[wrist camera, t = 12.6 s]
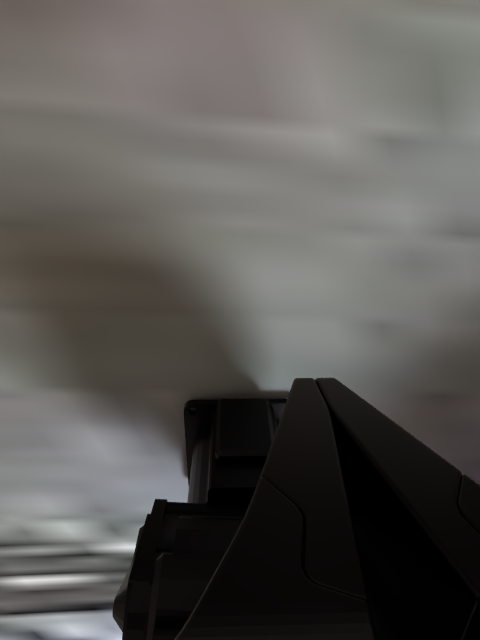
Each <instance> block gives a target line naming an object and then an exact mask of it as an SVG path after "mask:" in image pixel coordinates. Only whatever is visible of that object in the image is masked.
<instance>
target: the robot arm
mask: <svg viewBox="0 0 480 640" xmlns="http://www.w3.org/2000/svg"><path fill="white" fill-rule="evenodd" d="M191 408H195V409H196V411H191V410H190V409H191ZM184 423H185V438H186V453H187V468H188V483H189V493H188V502H187V503H180V502H167V500H165V499H155V502H154V505H153V509H152V512H151V514H147V518H146V521H145V524H144V526H143V527H141V528H140V530H139V534H138V539H137V543H136V548H135V552H134V557H133V560H132V563H131V566H130V568H129V570H128V572H127V574H126V576H125V578H124V581H123V583H122V585H121V587H120V589H119V591H118V593H117V595H116V597H115V601H114V606H113V618H114V619H115V621H116V623H117V624H118V626H119V627H120V629H121V630H122V632H123V636H122V640H480V485H479V484H477V483H476V482H475V481H473V480H472V479H471V478H469V477H468V476H467V475H462V473H461V471H460V470H458V469H457V468H455V467H454V466H453V465H451V464H450V463H449V462H447V461H446V460H445V459H443V458H442V457H441V456H439V455H438V454H437V453H435V452H434V451H433V450H431V449H430V448H428V447H427V446H426V445H424V444H423V443H422V442H420V441H419V440H418V439H416V438H415V437H414V436H412V435H411V434H410V433H408V432H407V431H406V430H404V429H403V428H401V427H400V426H399V425H397V424H396V423H395V422H393V421H392V420H391V419H389V418H388V417H387V416H385V415H384V414H383V413H381V412H380V411H378V410H377V409H376V408H374V407H373V406H372V405H370V404H369V403H368V402H366V401H365V400H364V399H362V398H361V397H360V396H358V395H357V394H356V393H354V392H353V391H351V390H350V389H349V388H347V387H346V386H345V385H343V384H342V383H341V382H339V381H338V380H337V379H335V378H317V379H315V380H314V379H313V378H296V379H295V380H294V382H293V384H292V387H291V390H290V393H289V396H288V399H222V400H190V401H188V402H187V403H186V404H185V407H184Z"/></svg>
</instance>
